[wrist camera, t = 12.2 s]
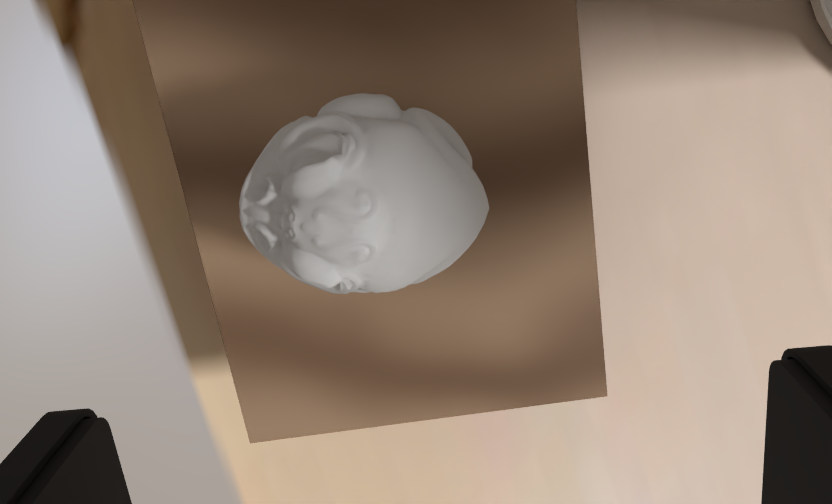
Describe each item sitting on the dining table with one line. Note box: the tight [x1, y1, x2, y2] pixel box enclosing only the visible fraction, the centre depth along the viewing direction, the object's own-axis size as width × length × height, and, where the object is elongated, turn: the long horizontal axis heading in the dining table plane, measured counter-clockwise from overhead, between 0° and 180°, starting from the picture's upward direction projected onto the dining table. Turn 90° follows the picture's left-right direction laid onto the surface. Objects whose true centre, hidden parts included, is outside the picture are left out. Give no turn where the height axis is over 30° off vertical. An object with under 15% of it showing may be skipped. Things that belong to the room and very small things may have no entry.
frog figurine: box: [239, 93, 489, 294], centre depth 23 cm, size 6×7×7 cm
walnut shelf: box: [133, 0, 607, 443], centre depth 29 cm, size 20×14×6 cm
